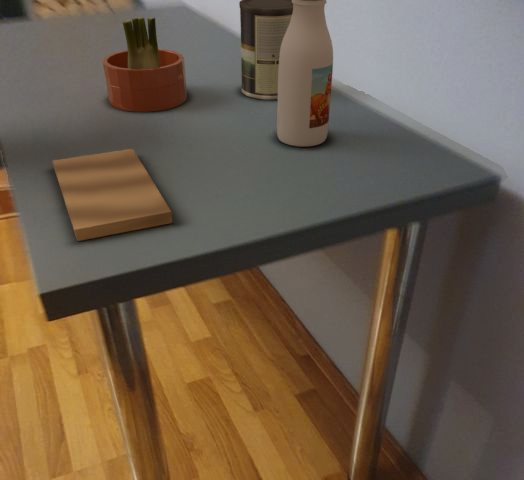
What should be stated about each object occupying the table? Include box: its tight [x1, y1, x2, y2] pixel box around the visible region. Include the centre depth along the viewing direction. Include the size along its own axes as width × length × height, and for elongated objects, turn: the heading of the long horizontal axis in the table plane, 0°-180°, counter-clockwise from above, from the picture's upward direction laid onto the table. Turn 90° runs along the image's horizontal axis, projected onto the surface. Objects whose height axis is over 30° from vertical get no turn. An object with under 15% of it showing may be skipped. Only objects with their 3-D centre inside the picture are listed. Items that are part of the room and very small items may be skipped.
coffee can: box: [238, 0, 293, 101], centre depth 96 cm, size 10×10×14 cm
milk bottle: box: [276, 0, 334, 147], centre depth 77 cm, size 8×8×20 cm
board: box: [51, 148, 174, 242], centre depth 69 cm, size 20×11×2 cm, turn 23°
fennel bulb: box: [122, 17, 161, 69], centre depth 93 cm, size 6×5×12 cm
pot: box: [102, 48, 188, 113], centre depth 95 cm, size 14×14×6 cm
